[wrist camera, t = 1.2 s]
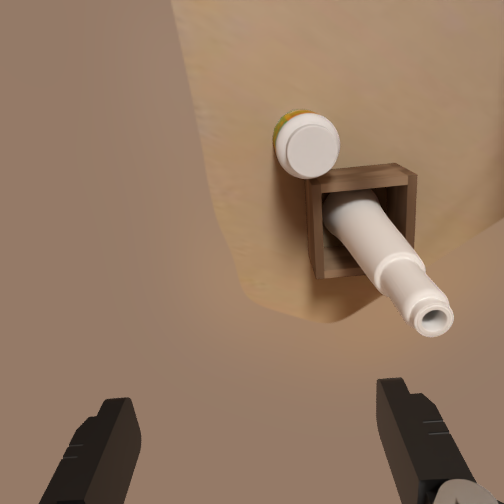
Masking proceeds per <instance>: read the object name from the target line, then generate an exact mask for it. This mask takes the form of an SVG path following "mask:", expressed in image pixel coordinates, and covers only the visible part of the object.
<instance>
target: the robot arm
mask: <svg viewBox="0 0 504 504" xmlns="http://www.w3.org/2000/svg"><path fill="white" fill-rule="evenodd" d="M376 397H377V398H376V400H377V401H376V403H377V404H376V418H377V426H378V431H379V435H380V439H381V441H382V444H383V447H384V451H385V454H386V457H387V460H388V463H389V466H390V469H391V472H392V475H393V478H394V481H395V484H396V487H397V490H398V493H399V496H400V499H401V502H402V504H504V503H502V502H500V501H498V500H496V499H495V498H494V497H493V495H492V494H491V493H490V492H489V491H488V490H486V489H485V488H484V487H482V486H480V485H479V484H477V482H476V481H475V479H474V477H473V476H472V474H471V472H470V470H469V468H468V466H467V464H466V462H465V460H464V459H463V457H462V455H461V453H460V451H459V449H458V447H457V445H456V443H455V442H454V440H453V438H452V436H451V434H449V430H448V428H447V426H446V424H445V423H444V422H443V419H442V417H441V415H440V413H439V411H438V409H437V407H436V405H435V404H434V403H432V402H431V401H430V400H429V399H428V398H427V397H426V396H424V395H423V394H422V393H419V394H410V393H409V391H408V389H407V386H406V384H405V383H404V380H403V379H402V378H387V379H378V380H377V395H376ZM140 448H141V432H140V428H139V425H138V421H137V418H136V414H135V411H134V408H133V404H132V401H131V399H130V398H114V399H106V400H105V401H104V402H103V404H102V406H101V408H100V410H99V412H98V415H97V416H95V417H89V418H88V419H87V420H86V421H85V422H84V423H83V424H82V425H81V426H80V427H79V428H78V429H77V430H76V432H75V434H74V436H73V438H72V440H71V442H70V444H69V447H68V448H67V449H66V452H65V454H64V455H63V459H62V460H61V461H60V463H59V465H58V467H57V469H56V471H55V473H54V475H53V477H52V479H51V481H50V483H49V485H48V487H47V489H46V491H45V493H44V494H43V496H42V498H41V501H40V502H39V504H124V501H125V497H126V494H127V491H128V488H129V485H130V481H131V478H132V475H133V472H134V469H135V466H136V462H137V459H138V456H139V453H140Z"/></svg>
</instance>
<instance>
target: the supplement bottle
mask: <svg viewBox="0 0 504 504" xmlns="http://www.w3.org/2000/svg"><path fill="white" fill-rule="evenodd" d="M273 146H274V149H275V152H276V155H277V158H278V161H279V163H280V164H281V166H282V167H283V169H284V170H285V171H286V172H288V173H289V174H291V175H292V176H294V177H297V178H301V179H312V178H316V177H319V176H321V175H323V174H325V173H327V172H328V171H329V170H330V169H331V168H332V167H333V165H334V164H335V162H336V160H337V158H338V155H339V151H340V139H339V135H338V132H337V130H336V128H335V127H334V125H333V124H332V123H331V122H330V121H329V120H328V119H326V118H325V117H323V116H321V115H319V114H317V113H315V112H313V111H310V110H305V109H297V110H293V111H291V112H288V113H287V114H285V115H284V116H283V117H282V118H281V119H280V120H279V121H278V123H277V124H276V126H275V129H274V132H273Z"/></svg>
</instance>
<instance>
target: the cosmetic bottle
mask: <svg viewBox="0 0 504 504" xmlns="http://www.w3.org/2000/svg"><path fill="white" fill-rule="evenodd" d="M322 219H323V223H324V225H325V227H326V228H327V230H328V231H329V232H330V233H331V234H333V235H334V236H336V237H337V238H338V239H339V240H340V241H341V242H342V243H343V244H344V246H345V247H346V248H347V249H348V251H349V252H350V253H351V255H352V256H353V258H354V259H355V260H356V262H357V263H358V265H359V266H360V267H361V269H362V270H363V271H364V273H365V274H366V275H367V277H368V278H369V280H370V281H371V282H372V283H373V285H374V286H375V287H376V288H377V290H378V291H379V292H380V293H381V294H383V295H385V296H387V297H389V298H390V299H391V301H392V302H393V304H394V305H395V307H396V308H397V310H398V311H399V313H400V315H401V316H402V318H403V319H404V321H405V322H406V323H407V324H408V325H409V326H411V327H412V328H414V329H416V330H417V332H418V333H420V334H421V335H423V336H427V337H435V336H439V335H442V334H443V333H445V332H446V331H447V330H448V329H449V328H450V327H451V326H452V324H453V320H454V314H453V311H452V310H451V308H450V305H449V301H448V299H447V297H446V295H445V294H444V293H443V292H442V291H441V290H440V289H439V288H438V286H437V285H436V284H435V283H434V282H433V281H432V280H431V279H430V278H429V277H428V276H427V275H426V270H425V265H424V263H423V261H422V260H421V258H420V257H419V256H418V254H417V253H416V252H415V250H414V249H413V248H412V247H411V245H410V244H409V243H408V242H407V240H406V239H405V238H404V237H403V235H402V234H401V233H400V232H399V231H398V229H397V228H396V227H395V226H394V224H393V223H392V222H391V221H390V219H389V218H388V217H387V215H386V214H385V213H384V211H383V209H382V208H381V206H380V203H379V200H378V198H377V196H376V194H375V193H374V192H373V191H372V190H371V189H370V188H369V189H359V190H349V191H338V192H331V193H330V194H329V195H328V197H327V198H326V200H325V202H324V204H323V208H322Z"/></svg>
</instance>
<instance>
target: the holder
mask: <svg viewBox="0 0 504 504" xmlns="http://www.w3.org/2000/svg"><path fill="white" fill-rule="evenodd" d="M379 187H387V217H388V218H389V219H390V221H391V222H392V223H393V224H394V226H395V227H396V228H397V229H398V231H399V232H400V233H401V234H402V235H403V237H404V238H405V239H406V240H407V242H408V243H409V244H410V245H411V247H412V248H413V249H414V236H415V215H416V193H417V174H415V173H413V172H411V171H409V170H408V169H406V168H404V167H402V166H400V165H398V164H397V163H391V164H381V165H371V166H360V167H350V168H340V169H330V170H329V171H328V172H327V173H325V174H323V175H321V176H319V177H316V178H312V179H305V196H306V215H307V233H308V251H309V258H310V261H311V264H312V267H313V270H314V273H315V277H316V279H324V278H335V277H346V276H357V275H366V274H365V273H364V271H363V270H362V269H361V267H360V266H359V265H358V263H357V262H356V260H355V259H354V258H353V256H352V255H351V253H350V252H349V251H348V249H347V248H346V247H345V246H333V247H323V225H322V200H321V193H328V192H338V191H349V190H359V189H369V188H379Z"/></svg>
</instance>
